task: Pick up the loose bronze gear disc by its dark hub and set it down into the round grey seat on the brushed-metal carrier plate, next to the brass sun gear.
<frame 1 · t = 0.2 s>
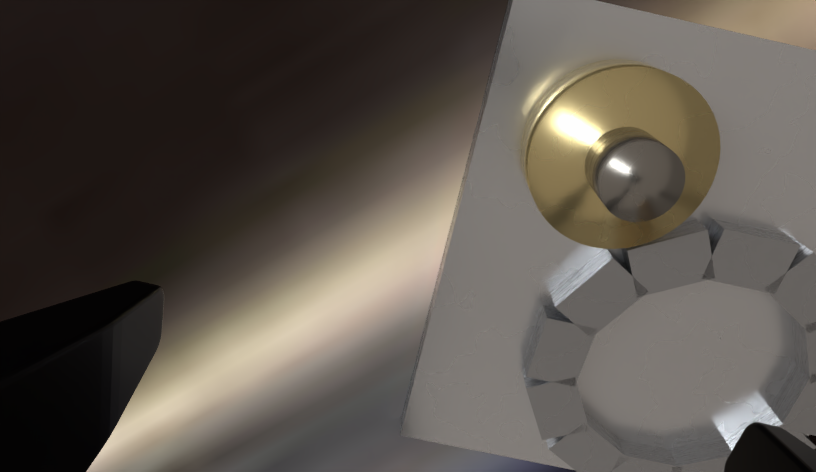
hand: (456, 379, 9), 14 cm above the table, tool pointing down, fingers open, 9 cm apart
carrier: (652, 278, 24), on the table
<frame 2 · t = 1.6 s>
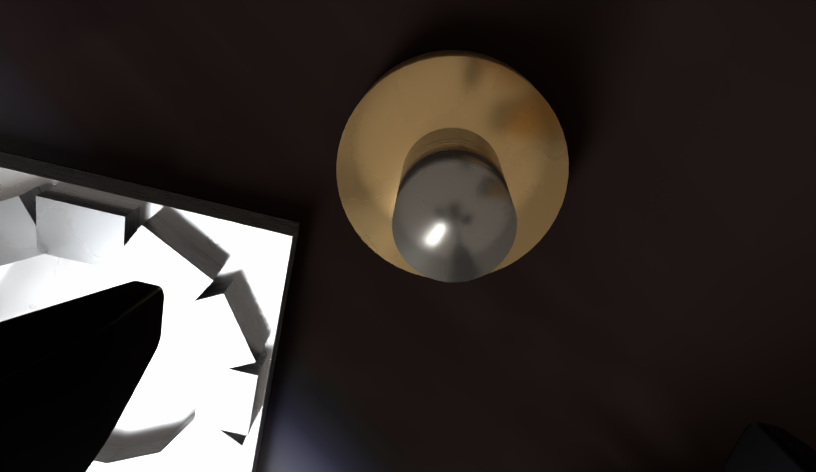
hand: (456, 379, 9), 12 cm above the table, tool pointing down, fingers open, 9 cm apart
carrier: (34, 358, 24), on the table
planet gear: (450, 158, 20), on the table
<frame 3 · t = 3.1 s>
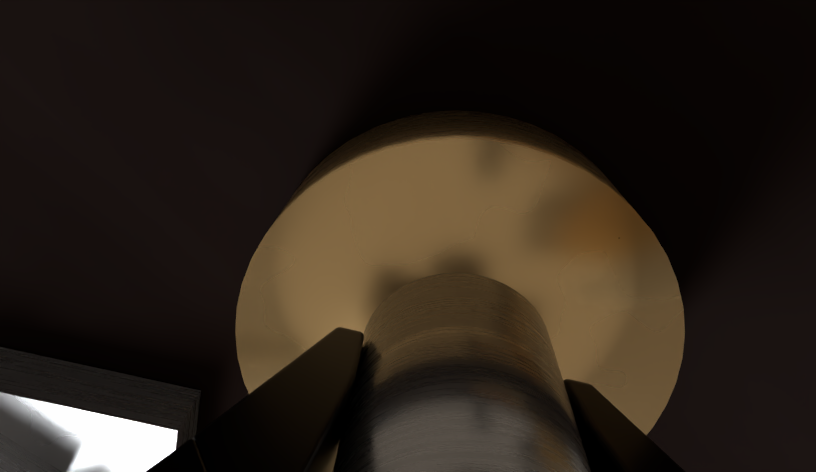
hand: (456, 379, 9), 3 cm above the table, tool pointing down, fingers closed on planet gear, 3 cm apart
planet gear: (452, 295, 11), on the table, touching gripper
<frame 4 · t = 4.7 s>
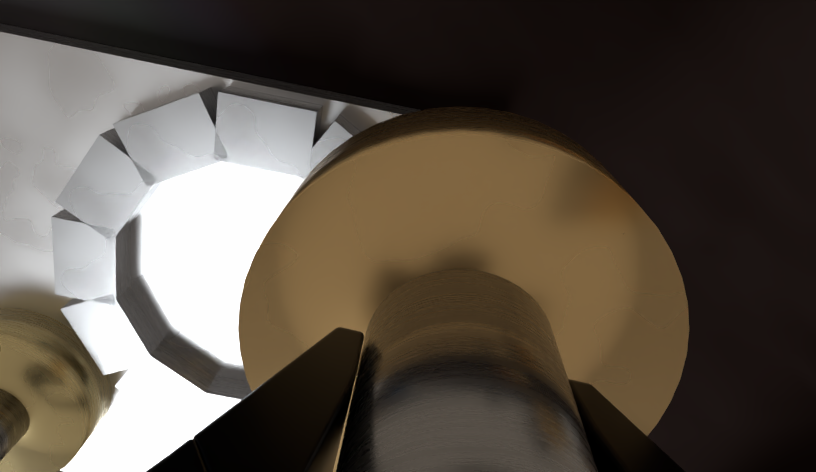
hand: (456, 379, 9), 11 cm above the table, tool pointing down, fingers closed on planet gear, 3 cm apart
carrier: (181, 296, 22), on the table
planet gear: (455, 293, 11), point 9 cm above the table, touching gripper
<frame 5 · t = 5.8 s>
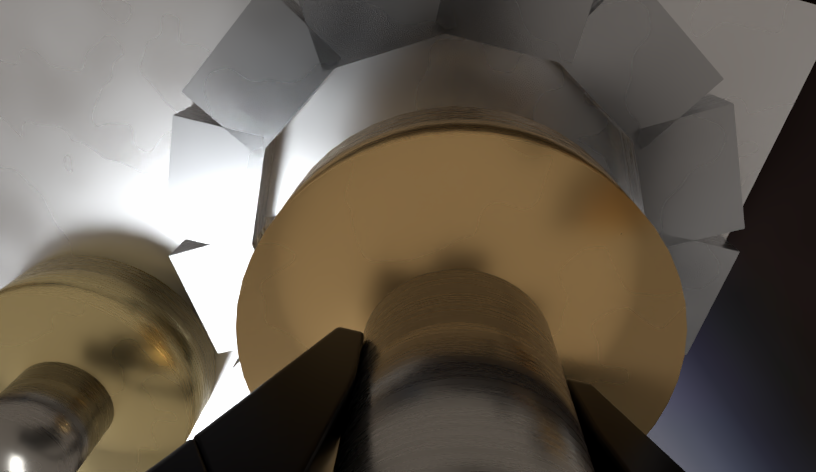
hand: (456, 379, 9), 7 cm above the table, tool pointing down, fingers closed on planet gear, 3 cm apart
carrier: (318, 249, 16), on the table
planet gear: (453, 293, 11), point 5 cm above the table, touching gripper
when the fingers open (5 cm above the table, at t = 6.3 s): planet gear drops 1 cm, resting on carrier.
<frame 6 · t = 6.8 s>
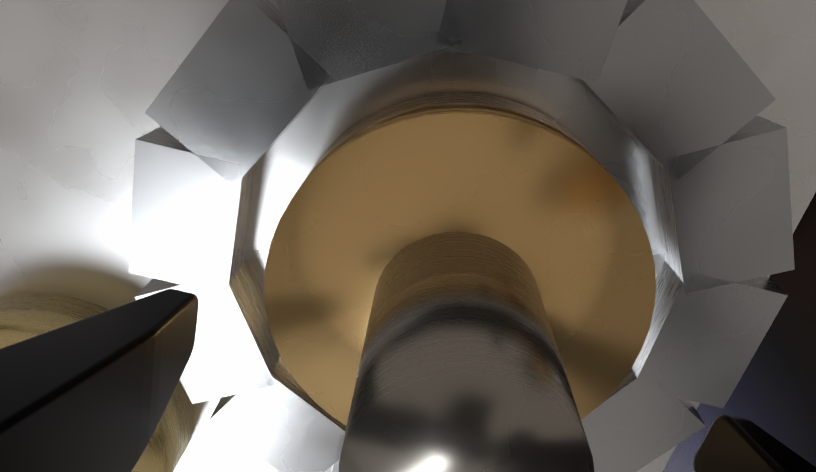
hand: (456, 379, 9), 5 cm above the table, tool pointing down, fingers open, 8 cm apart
carrier: (307, 283, 14), on the table
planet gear: (453, 260, 12), point 1 cm above the table, touching carrier
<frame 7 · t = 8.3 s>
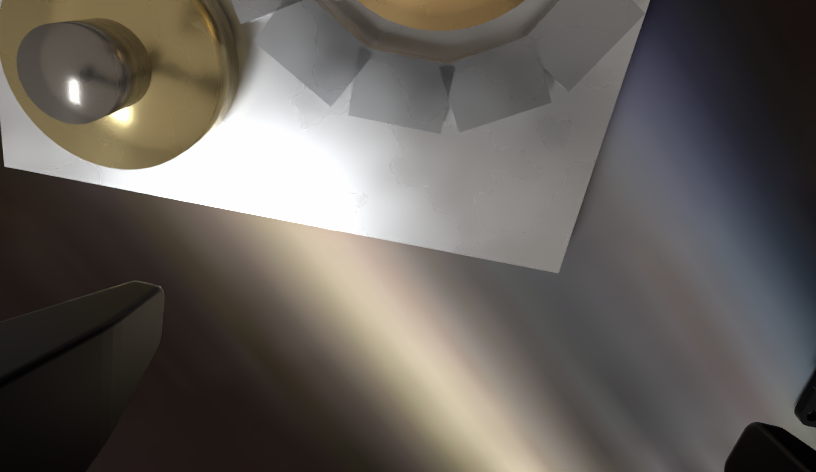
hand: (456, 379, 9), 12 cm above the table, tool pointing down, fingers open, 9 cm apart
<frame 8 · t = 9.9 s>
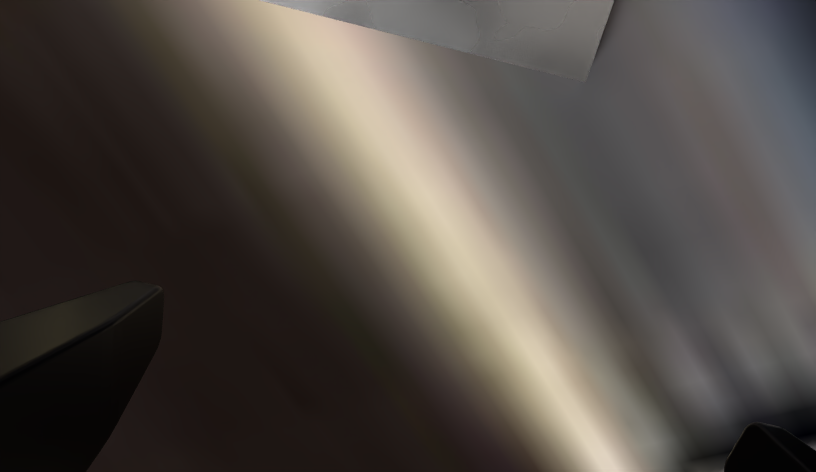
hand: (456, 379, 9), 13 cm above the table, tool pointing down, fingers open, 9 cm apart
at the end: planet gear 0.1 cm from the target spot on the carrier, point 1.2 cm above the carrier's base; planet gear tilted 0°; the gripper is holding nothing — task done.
